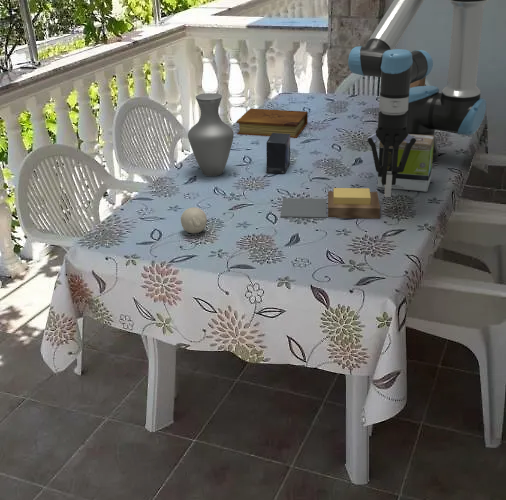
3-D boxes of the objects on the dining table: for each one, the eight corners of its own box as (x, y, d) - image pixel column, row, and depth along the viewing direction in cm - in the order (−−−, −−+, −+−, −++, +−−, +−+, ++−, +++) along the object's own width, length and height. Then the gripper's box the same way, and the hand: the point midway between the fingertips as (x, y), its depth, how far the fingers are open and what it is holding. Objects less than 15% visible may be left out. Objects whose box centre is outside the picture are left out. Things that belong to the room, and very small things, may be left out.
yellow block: (369, 195, 195) (369, 188, 194) (370, 204, 189) (370, 197, 188) (333, 194, 196) (333, 187, 195) (333, 204, 190) (333, 197, 189)
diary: (307, 125, 270) (307, 111, 268) (296, 139, 254) (296, 124, 252) (251, 121, 276) (251, 107, 274) (237, 135, 260) (236, 120, 258)
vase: (218, 183, 214) (214, 104, 203) (181, 176, 221) (175, 98, 210) (243, 169, 225) (241, 93, 214) (207, 162, 232) (203, 88, 221)
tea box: (430, 181, 212) (435, 134, 205) (427, 193, 204) (431, 144, 197) (381, 176, 217) (384, 130, 210) (376, 187, 208) (379, 140, 202)
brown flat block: (376, 201, 199) (377, 191, 197) (379, 218, 188) (380, 208, 187) (327, 200, 200) (328, 191, 199) (327, 217, 189) (328, 207, 188)
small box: (285, 174, 220) (285, 142, 216) (265, 173, 222) (265, 142, 217) (291, 163, 230) (291, 132, 225) (271, 162, 231) (271, 132, 226)
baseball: (187, 240, 179) (185, 216, 176) (178, 229, 185) (176, 206, 182) (211, 235, 181) (210, 211, 178) (202, 224, 187) (200, 202, 184)
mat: (326, 200, 200) (326, 198, 200) (326, 218, 189) (326, 217, 189) (283, 199, 202) (283, 198, 201) (280, 217, 190) (280, 216, 190)
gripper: (368, 115, 178) (364, 200, 188) (420, 115, 176) (413, 200, 187) (367, 107, 184) (363, 190, 195) (417, 107, 183) (410, 190, 194)
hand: (387, 195), depth 191 cm, fingers closed
